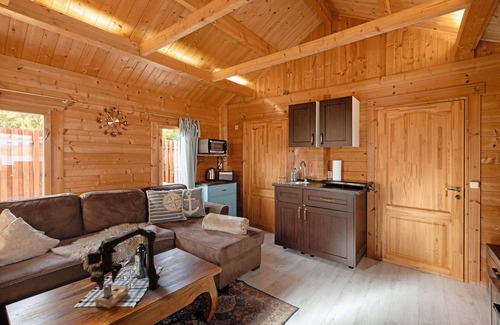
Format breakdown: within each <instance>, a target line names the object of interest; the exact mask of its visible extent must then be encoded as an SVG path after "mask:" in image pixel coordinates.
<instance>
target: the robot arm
mask: <svg viewBox="0 0 500 325" xmlns="http://www.w3.org/2000/svg"><path fill="white" fill-rule="evenodd" d="M136 236H142V237H143V239H144V242H145V247H146V249H145V250H146V265H145V266H143V274H144V275H145V276H146V277H147V278H148V286H147V287H146V289H147V290H152V291H156V290H157V289H158V288H159V287H160V286H161V284H160V283H159V280H160V278H161V276H160V275H159V274H158V273H157V268H156V266H155V260H154V259H155V258H154V257H155V255H154V254H155V253H154V252H155V251H154V244H155V241H156V236H157V235H156V233H155V232H154V231H153V230H151V229H145V228H141V227H139V226H137V227H135V228H133V229H131V230H128V231H126V232H124V233H122V234H119V235H117V236H113V237H109V238H105V239H103V240H102V241H101V242H100V245H99V247H98V248H97V250H96V251H93V252H89V253H87V254H86V259H85V261H86V262H85V263H86V266H87V267H90V266H91V267H90V271H91V273H94V274H93V275H91V276H90V283H91V282H92V283H96V284H97V286H98V289H99V290H100V291H103V290H104V286H105V281H106V280H105V277H106V276H107V275H108V274H111V282H112V283H114V282H115V281H116V280H117V277H118V275H119V274H120V271H122V269H123V264H122V263H119V262H118V263H117V262H115V261H114V259H113V258H114V255H113V254H114V253H117V250H116V249H115V248H116V247H117V246H118V245H120V244H121V243H123V242H125V241H127V240H130V239H132V238H134V237H136ZM92 265H93V266H92ZM97 272H98V273H97ZM95 273H96V274H95Z"/></svg>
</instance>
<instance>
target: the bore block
mask: <svg viewBox="0 0 500 325" xmlns="http://www.w3.org/2000/svg"><path fill="white" fill-rule="evenodd" d="M128 293H129V288H128V287H126V286H118V285H112V297H110V298H109V299H104V292H103V293H102V294H100V295H99V296H98V297H96V298H95V299H94V300H95V303H94V304H95V307H97V308H103V309H109V310H110V309H111V308H113V307H114V306H116V305H117V304H118V303H119V302H120V301H122V300H123V299H124V298H125V297H127V295H128Z"/></svg>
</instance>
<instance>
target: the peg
mask: <svg viewBox="0 0 500 325" xmlns="http://www.w3.org/2000/svg"><path fill="white" fill-rule="evenodd" d="M112 287H113V285H112V284H111V283H108V284H104V286H103V293H104V299H109V298H110V297H112Z"/></svg>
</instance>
